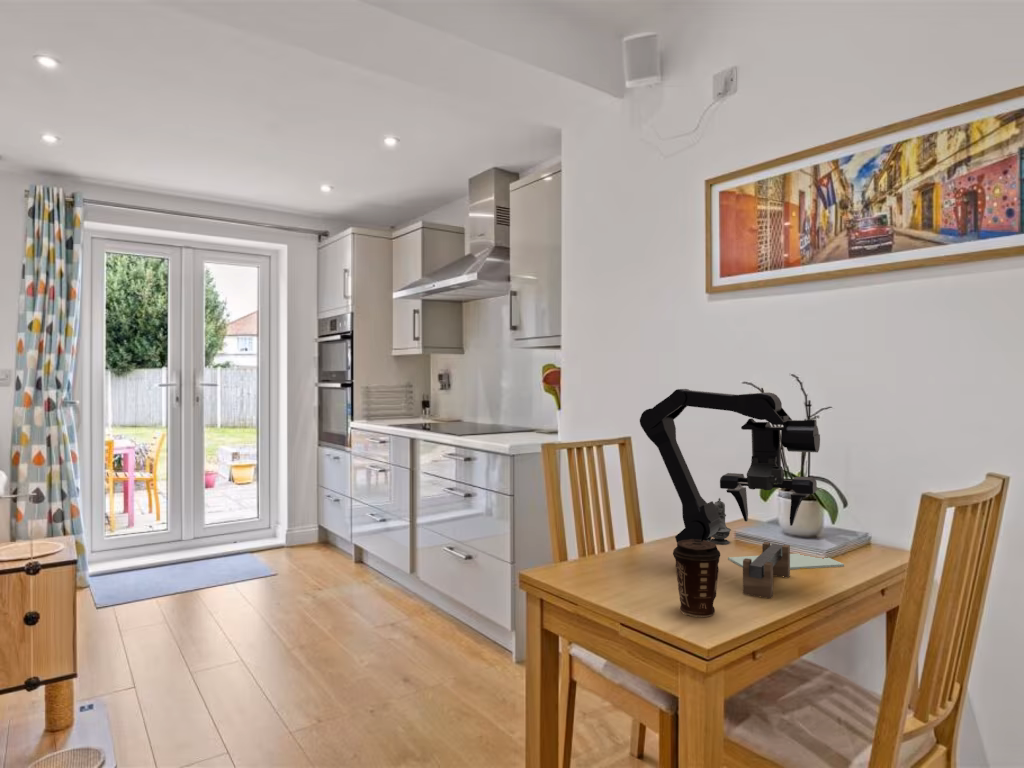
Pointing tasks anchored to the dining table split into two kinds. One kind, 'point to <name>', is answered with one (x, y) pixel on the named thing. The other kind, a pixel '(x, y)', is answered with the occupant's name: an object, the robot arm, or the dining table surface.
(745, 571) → the walnut cradles
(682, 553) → the coffee cup
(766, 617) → the dining table surface
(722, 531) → the dark grey chess piece
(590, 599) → the dining table surface
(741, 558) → the sage mat
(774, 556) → the black rail
